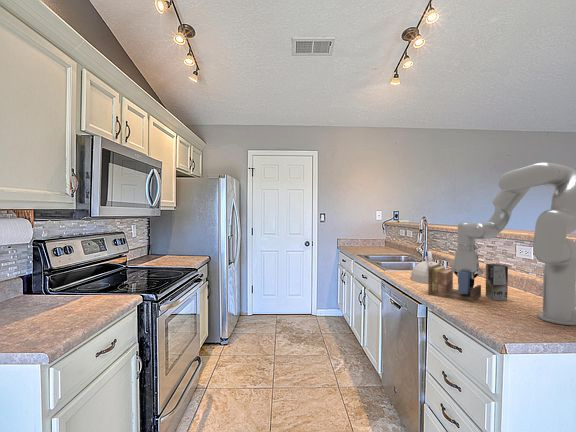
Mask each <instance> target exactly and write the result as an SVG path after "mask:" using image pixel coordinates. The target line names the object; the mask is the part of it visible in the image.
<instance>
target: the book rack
mask: <svg viewBox="0 0 576 432" xmlns="http://www.w3.org/2000/svg"><path fill="white" fill-rule="evenodd" d="M453 279H454V272H452V271H451V270H450V269H446V267H445V266H443V265H441V264H440V263H438V264H437V265H434V266H431V267H429V269H428V284H427V285H428V287H427V288H428V290H427V292H428V293H427V295H429V296H434V297H441V298H445V299H453V300H458V301H463V302H469V303H474V302H476V301H477V300H478V299H479V298H481V297H482V285H480V284H477V285H476V286H473V289H471V290H470V293H469V294H463V293H458V289H454V287H453V286H454V280H453Z"/></svg>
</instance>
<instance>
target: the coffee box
mask: <svg viewBox="0 0 576 432" xmlns="http://www.w3.org/2000/svg"><path fill="white" fill-rule="evenodd" d="M508 280H509V266H507V265H504V264H501V263H485V297H488V298H489V299H491V300H492V301H503V302H508V286H509V285H508V282H509V281H508Z"/></svg>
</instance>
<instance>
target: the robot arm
mask: <svg viewBox="0 0 576 432" xmlns="http://www.w3.org/2000/svg"><path fill="white" fill-rule="evenodd" d="M538 186H539V187H540V186H548V187H549V186H551V187H553V188H554V191H553V194H552V196H551V203H550V208H549V209H546V210H544V211H542V212H541V213H540V214H539V215H538V217H537V219H536V222H535V227H534V234H533V235H534V236H533V241H532V242H533V243H532V253H533V255H534V257H535V258H536V260H537V261H538V262H540V263H543V264H544V265H543V267H544V268H543V277H542V280H543V286H542V312H541V311H540V312H538V313H537V317H538V319H540V320H541V321H542V320H543V321H545V322H548V323H551V324H552V323H553V324H558V325H563V326H576V243H575V242H574V241H573V240H572V239H569V238H567V234H572V233H573V232H575V231H576V170H575V169H574V168H572V167H570V166H568V165H567V166H566V165H564V164H559V163H552V162H547V161H545V162H538V163H533V164H530V165H527V166H524V167H521V168H516V169H512V170H509V171H507V172H505V173H503V174H502V175H501V176H500V178H499V179H498V187H499V189H500V190H499V191H498V193H497V194H496V196H494V198H493V199H492V205H493V206H494V212H493V214H492V215H491V217H490V218H489V219H488V220H487V222H459V223H458V224H457V249H456V250H455V253H454V261H453V265H452V266H451V268H450V269H449V270H451V271H452V272H453V274H455V276H456V278H458V272H459V271H465V272H470V276H471V279H470V287H473V288H474V287H475V279H476V278H477V277H478V276H480V275H483V274H484V272H483V271H482V269H481V267H480V262H479V261H480V260H479V253H478V251H477V250H480V249H479V246H477V245H476V239H477V240H488V239H493V238H496V237H497V236H499V234H501V232H502V231H504V230H505V227H506V226H508V223H509V221H510V219H511V216H512V214H513V213H512V212H513V210H514V209H515V208H516V207H517V206H518V204H519V203H520V201H521V200H522V199H523V198H524V197H525V196H526V194H527V193H528V192H529V191H530V189H531V188H535V187H538Z"/></svg>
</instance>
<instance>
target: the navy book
mask: <svg viewBox="0 0 576 432" xmlns="http://www.w3.org/2000/svg"><path fill="white" fill-rule="evenodd" d="M457 272H458V271H457ZM470 279H471V276H470V272H465V271H459V272H458V277H457V284H458V286H457V290H458V293H463V294H469V293H470V290H471V289H473V288H474V286H473V287H470Z"/></svg>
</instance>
